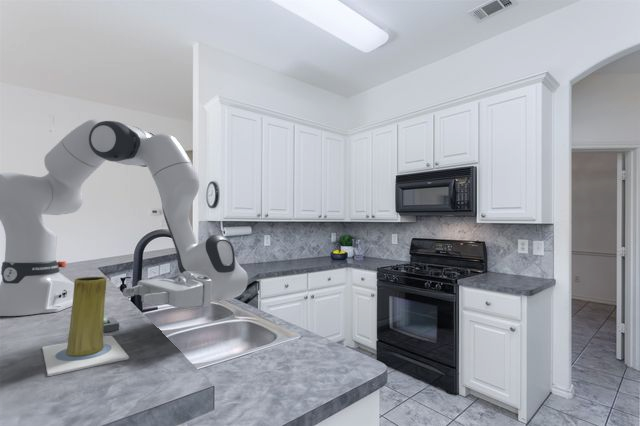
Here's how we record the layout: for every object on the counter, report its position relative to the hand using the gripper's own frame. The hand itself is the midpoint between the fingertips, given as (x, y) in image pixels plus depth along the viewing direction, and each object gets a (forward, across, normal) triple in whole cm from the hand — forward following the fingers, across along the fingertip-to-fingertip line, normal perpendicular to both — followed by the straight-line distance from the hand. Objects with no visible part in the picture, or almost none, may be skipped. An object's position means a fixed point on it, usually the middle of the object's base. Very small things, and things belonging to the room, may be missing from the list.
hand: (133, 295), depth 71 cm
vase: (+8, 0, +10) cm, 13 cm away
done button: (+1, -16, +10) cm, 19 cm away
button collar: (+1, -16, +10) cm, 19 cm away
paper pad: (+8, 0, +10) cm, 13 cm away
